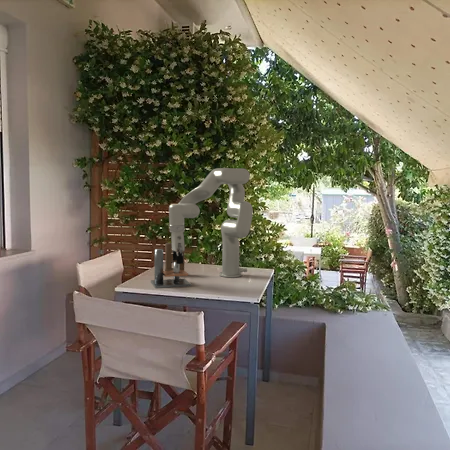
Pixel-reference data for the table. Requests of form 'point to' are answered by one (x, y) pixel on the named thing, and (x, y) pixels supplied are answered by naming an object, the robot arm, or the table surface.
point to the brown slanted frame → (170, 258)
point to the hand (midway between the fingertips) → (177, 261)
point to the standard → (166, 274)
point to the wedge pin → (176, 270)
